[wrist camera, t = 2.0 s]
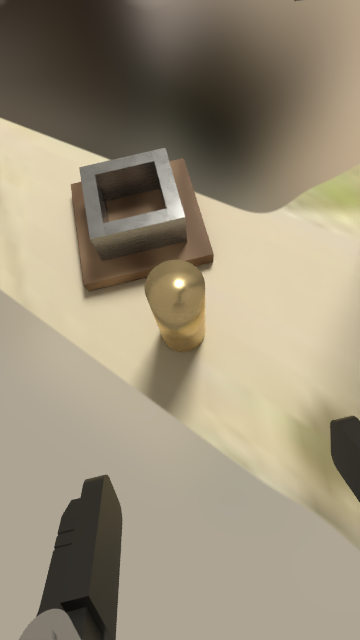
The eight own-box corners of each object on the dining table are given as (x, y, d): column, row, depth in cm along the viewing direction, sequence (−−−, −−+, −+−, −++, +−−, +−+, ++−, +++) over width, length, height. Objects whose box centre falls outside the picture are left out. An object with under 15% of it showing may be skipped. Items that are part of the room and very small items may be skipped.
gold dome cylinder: (199, 306, 34) (196, 253, 24) (209, 345, 32) (211, 305, 23) (157, 316, 34) (139, 267, 24) (166, 356, 32) (150, 320, 23)
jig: (184, 167, 41) (181, 128, 35) (213, 261, 35) (214, 230, 30) (75, 193, 40) (56, 156, 35) (88, 290, 35) (68, 265, 30)
